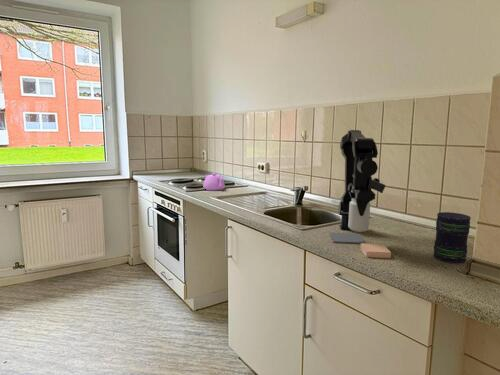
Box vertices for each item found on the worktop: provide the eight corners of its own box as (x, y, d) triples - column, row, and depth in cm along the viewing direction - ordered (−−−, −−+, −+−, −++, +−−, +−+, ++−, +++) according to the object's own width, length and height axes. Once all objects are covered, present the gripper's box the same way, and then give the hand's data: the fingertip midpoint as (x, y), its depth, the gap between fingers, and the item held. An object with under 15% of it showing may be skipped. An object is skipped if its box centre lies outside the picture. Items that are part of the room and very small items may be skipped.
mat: (329, 233, 147) (329, 232, 146) (359, 235, 145) (359, 233, 145) (333, 242, 135) (333, 241, 135) (365, 244, 134) (365, 242, 134)
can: (367, 227, 137) (369, 197, 135) (369, 233, 130) (371, 201, 128) (347, 226, 139) (349, 196, 137) (348, 231, 132) (350, 200, 130)
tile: (360, 243, 128) (366, 251, 119) (383, 244, 127) (391, 252, 119) (360, 249, 128) (366, 258, 120) (382, 250, 128) (390, 259, 119)
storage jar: (436, 251, 126) (440, 210, 124) (468, 257, 120) (473, 215, 118) (429, 259, 119) (433, 215, 116) (463, 266, 113) (468, 220, 110)
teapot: (231, 190, 252) (231, 173, 250) (213, 192, 242) (213, 175, 240) (214, 186, 269) (214, 170, 267) (196, 188, 259) (196, 172, 257)
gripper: (392, 176, 121) (388, 220, 124) (377, 169, 139) (374, 208, 142) (358, 175, 122) (356, 219, 125) (348, 169, 140) (346, 207, 143)
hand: (359, 213), depth 134 cm, fingers closed on can, 7 cm apart
